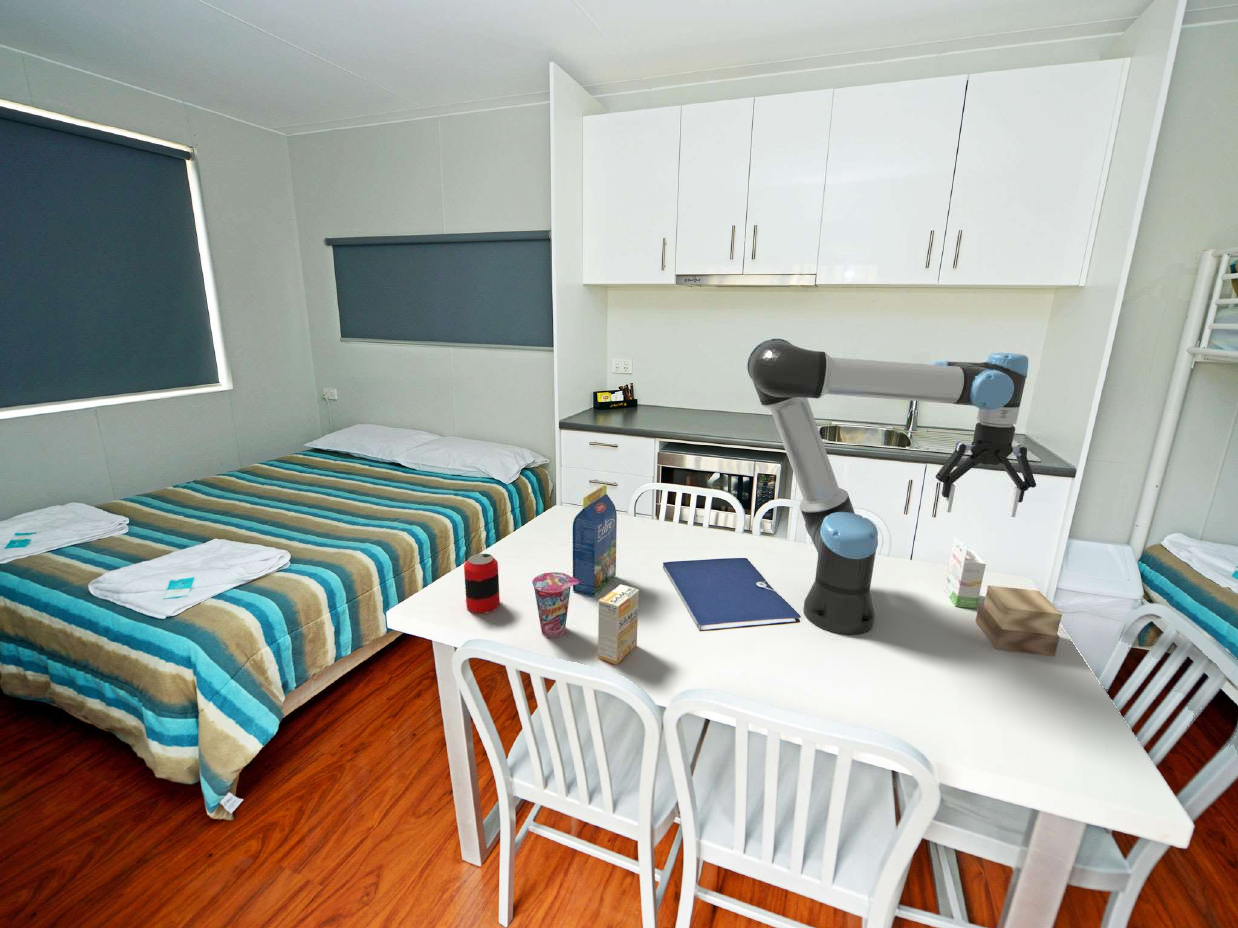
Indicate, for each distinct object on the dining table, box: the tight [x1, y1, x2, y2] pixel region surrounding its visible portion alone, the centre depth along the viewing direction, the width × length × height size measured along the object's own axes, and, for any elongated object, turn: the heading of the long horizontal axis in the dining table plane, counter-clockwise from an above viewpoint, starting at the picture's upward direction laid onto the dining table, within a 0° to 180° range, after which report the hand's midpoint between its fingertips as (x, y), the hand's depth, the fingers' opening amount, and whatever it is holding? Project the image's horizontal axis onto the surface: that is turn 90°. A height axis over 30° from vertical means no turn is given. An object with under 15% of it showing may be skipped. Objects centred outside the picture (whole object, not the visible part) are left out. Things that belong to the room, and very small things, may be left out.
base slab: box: [974, 603, 1060, 657], centre depth 124 cm, size 11×11×5 cm
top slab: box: [983, 585, 1063, 636], centre depth 122 cm, size 10×10×5 cm
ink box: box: [943, 536, 987, 609], centre depth 138 cm, size 9×5×15 cm, turn 168°
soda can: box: [463, 553, 501, 615], centre depth 132 cm, size 8×8×12 cm
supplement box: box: [597, 584, 640, 665], centre depth 116 cm, size 8×5×13 cm, turn 148°
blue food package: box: [572, 483, 618, 597], centre depth 141 cm, size 6×12×25 cm, turn 155°
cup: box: [531, 571, 579, 639], centre depth 123 cm, size 9×8×12 cm
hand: (978, 512), depth 134 cm, fingers open, 13 cm apart
